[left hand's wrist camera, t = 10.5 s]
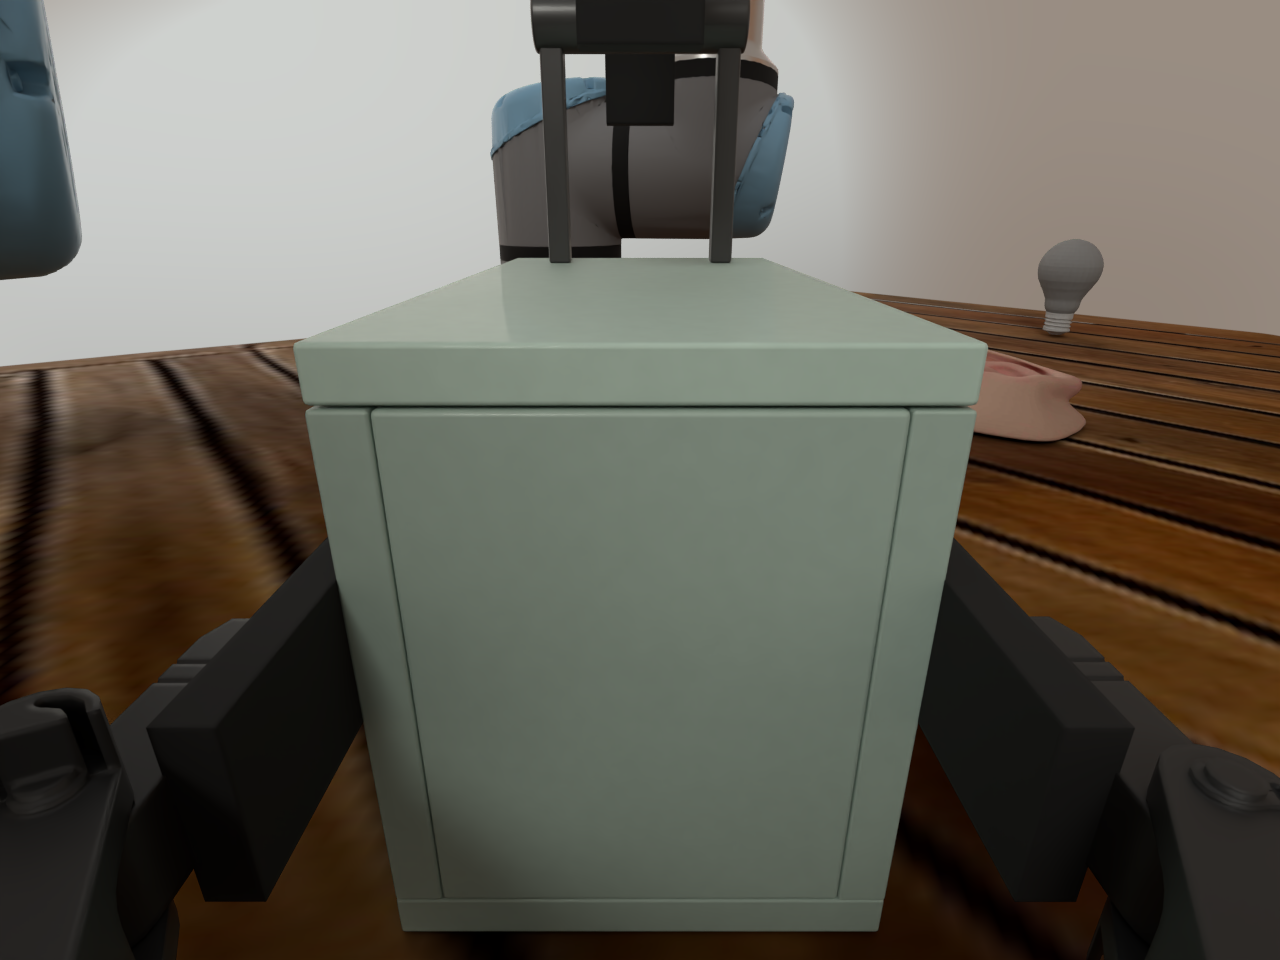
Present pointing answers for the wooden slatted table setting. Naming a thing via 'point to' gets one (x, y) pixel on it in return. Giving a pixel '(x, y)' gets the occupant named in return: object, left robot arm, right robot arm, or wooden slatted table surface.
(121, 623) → the wooden slatted table surface
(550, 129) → the lid
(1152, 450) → the wooden slatted table surface
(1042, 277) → the light bulb
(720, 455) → the chest
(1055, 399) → the anatomical model
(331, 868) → the wooden slatted table surface
